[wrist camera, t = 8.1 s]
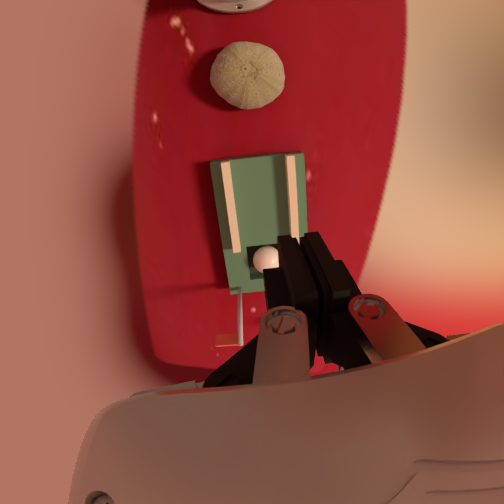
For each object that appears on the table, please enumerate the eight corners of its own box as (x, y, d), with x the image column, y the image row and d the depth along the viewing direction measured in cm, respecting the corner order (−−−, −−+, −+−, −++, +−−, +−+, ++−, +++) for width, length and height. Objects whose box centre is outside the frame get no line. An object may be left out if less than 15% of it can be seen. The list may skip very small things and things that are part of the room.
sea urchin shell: (238, 127, 33) (210, 85, 25) (218, 95, 35) (192, 57, 28) (302, 94, 31) (287, 47, 23) (274, 66, 34) (257, 24, 26)
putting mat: (200, 162, 36) (179, 186, 24) (300, 151, 36) (333, 170, 23) (221, 288, 45) (216, 351, 33) (305, 278, 45) (327, 338, 32)
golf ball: (255, 280, 41) (253, 259, 43) (283, 277, 41) (279, 256, 43) (253, 263, 38) (251, 241, 40) (283, 260, 38) (278, 238, 40)
